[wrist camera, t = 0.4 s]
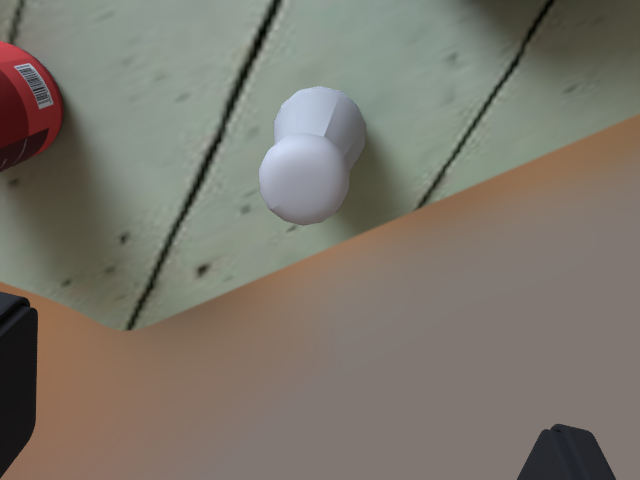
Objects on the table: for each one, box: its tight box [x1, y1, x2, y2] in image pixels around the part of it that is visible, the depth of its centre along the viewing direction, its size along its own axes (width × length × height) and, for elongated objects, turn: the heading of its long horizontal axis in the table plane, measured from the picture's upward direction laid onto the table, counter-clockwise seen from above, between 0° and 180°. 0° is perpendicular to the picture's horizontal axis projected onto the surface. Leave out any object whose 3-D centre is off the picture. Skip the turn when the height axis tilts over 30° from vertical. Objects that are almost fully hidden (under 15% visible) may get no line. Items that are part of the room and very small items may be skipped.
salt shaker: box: [259, 86, 366, 225], centre depth 31 cm, size 6×6×13 cm
